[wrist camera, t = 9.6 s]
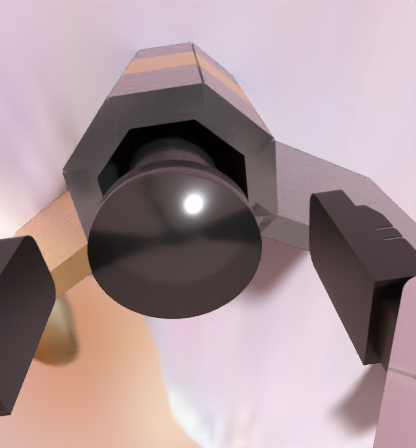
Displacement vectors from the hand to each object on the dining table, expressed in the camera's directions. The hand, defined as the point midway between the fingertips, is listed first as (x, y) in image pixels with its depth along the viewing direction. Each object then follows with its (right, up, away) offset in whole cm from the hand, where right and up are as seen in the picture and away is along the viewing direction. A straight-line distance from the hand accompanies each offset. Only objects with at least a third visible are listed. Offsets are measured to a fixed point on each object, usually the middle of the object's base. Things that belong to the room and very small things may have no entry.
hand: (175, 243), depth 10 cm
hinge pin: (-1, +7, +11) cm, 13 cm away
